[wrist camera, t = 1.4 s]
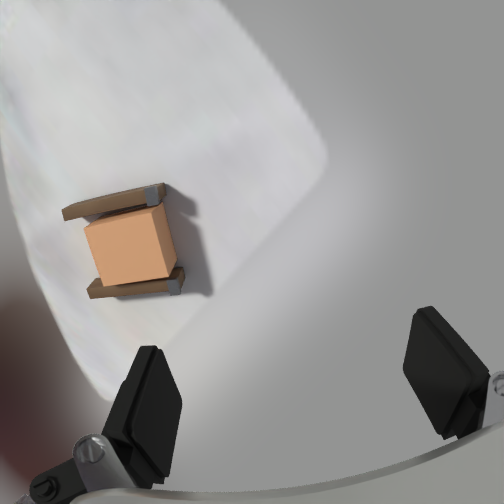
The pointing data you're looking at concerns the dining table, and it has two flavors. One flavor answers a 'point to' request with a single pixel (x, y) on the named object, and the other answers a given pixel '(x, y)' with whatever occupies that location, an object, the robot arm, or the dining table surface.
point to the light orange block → (132, 245)
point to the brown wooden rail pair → (118, 201)
